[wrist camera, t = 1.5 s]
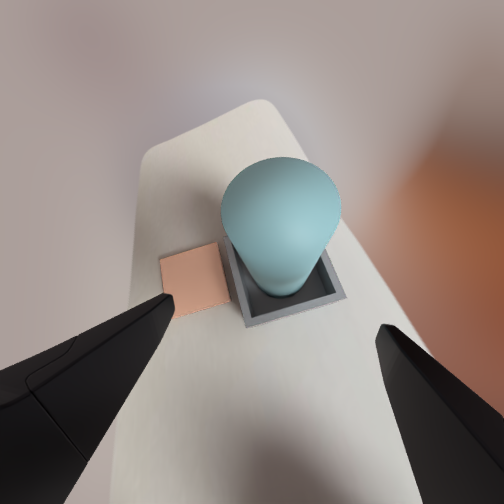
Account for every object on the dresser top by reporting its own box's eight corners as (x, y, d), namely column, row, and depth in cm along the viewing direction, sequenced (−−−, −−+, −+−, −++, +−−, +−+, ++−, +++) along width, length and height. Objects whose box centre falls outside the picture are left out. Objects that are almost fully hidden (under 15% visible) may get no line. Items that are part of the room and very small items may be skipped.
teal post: (313, 289, 20) (363, 239, 8) (262, 305, 20) (236, 278, 8) (295, 242, 21) (313, 143, 10) (248, 257, 21) (210, 177, 10)
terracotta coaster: (231, 301, 21) (229, 300, 20) (170, 319, 21) (167, 319, 20) (217, 243, 23) (216, 241, 22) (162, 261, 23) (159, 259, 22)
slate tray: (335, 302, 19) (346, 297, 16) (251, 327, 20) (246, 328, 16) (304, 226, 22) (308, 210, 19) (231, 249, 22) (223, 236, 19)
